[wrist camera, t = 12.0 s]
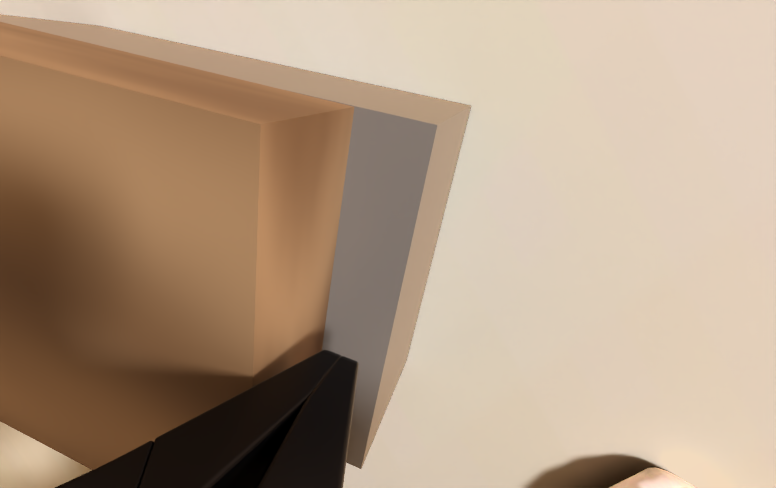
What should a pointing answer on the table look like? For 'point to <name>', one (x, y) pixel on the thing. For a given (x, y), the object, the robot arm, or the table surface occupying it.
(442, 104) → the plinth
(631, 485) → the cookie jar
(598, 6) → the table surface
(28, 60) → the slab
